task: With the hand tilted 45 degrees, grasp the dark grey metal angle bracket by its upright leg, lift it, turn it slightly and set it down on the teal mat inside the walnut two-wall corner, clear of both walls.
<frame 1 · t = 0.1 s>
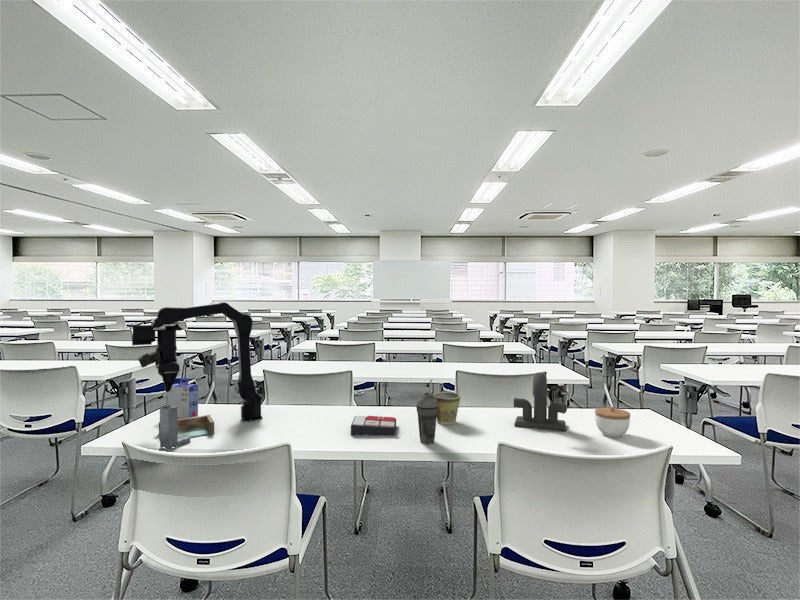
hand: (167, 388, 150), 15 cm above the table, tool pointing down, fingers open, 9 cm apart
angle bracket: (169, 447, 135), on the table
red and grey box: (374, 431, 152), on the table
beverage cup: (427, 442, 140), on the table
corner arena: (186, 433, 148), on the table
ceramic cup: (447, 421, 162), on the table
ink cartridge box: (183, 417, 168), on the table
lidded jar: (612, 435, 147), on the table
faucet: (539, 429, 153), on the table
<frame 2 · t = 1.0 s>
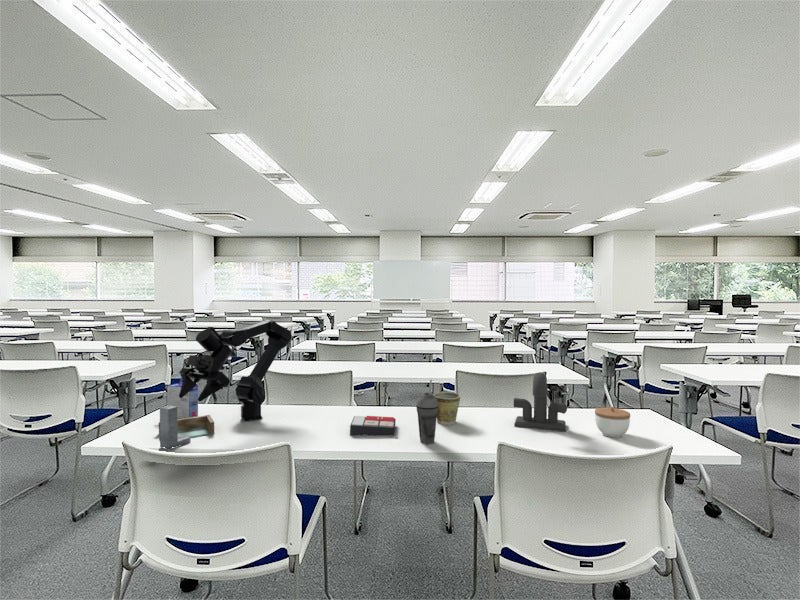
hand: (189, 399, 142), 13 cm above the table, tool tilted 45°, fingers open, 9 cm apart
nothing on the table moved.
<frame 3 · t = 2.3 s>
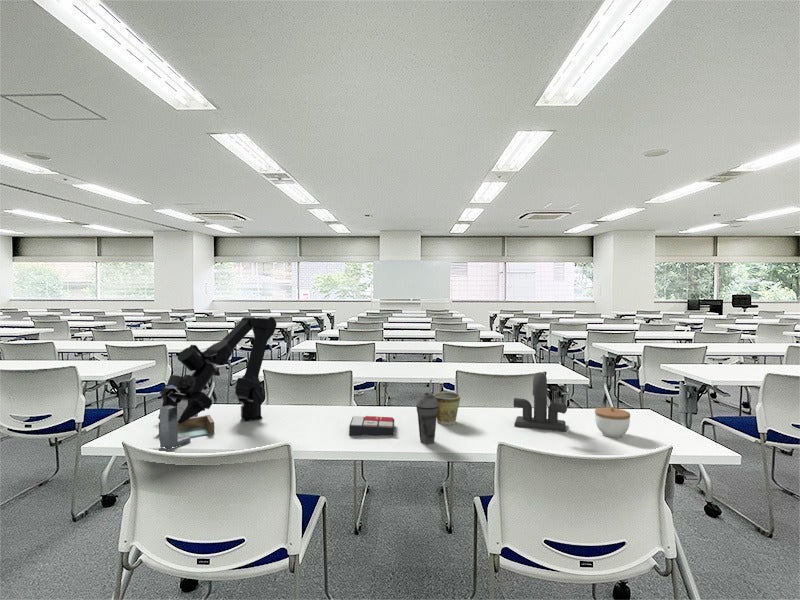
hand: (169, 421, 135), 8 cm above the table, tool tilted 45°, fingers open, 9 cm apart
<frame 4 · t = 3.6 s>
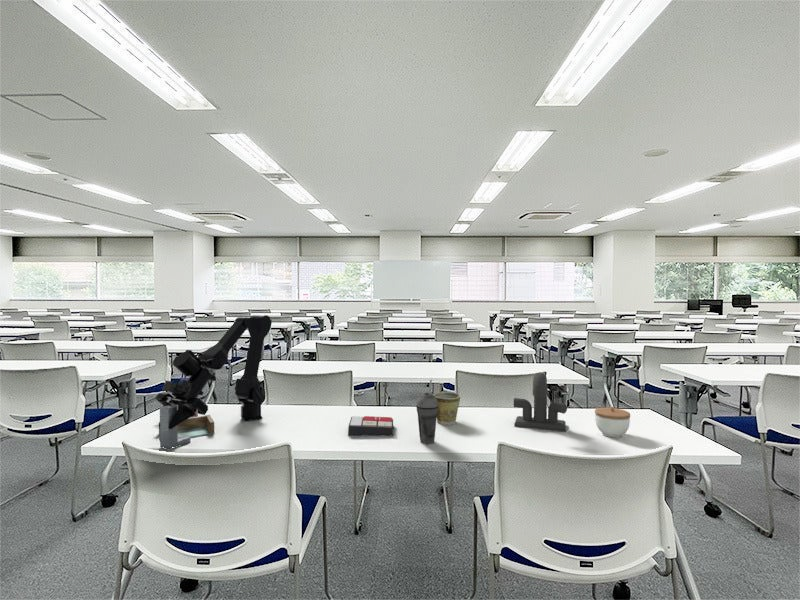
hand: (164, 427, 134), 7 cm above the table, tool tilted 45°, fingers closed on angle bracket, 4 cm apart
angle bracket: (169, 447, 135), on the table, touching gripper
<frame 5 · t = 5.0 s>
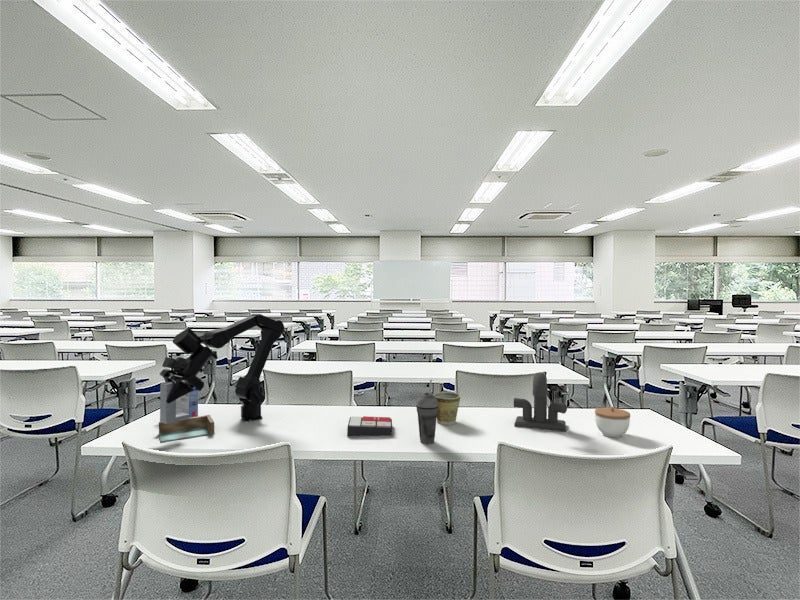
hand: (163, 401, 139), 13 cm above the table, tool tilted 45°, fingers closed on angle bracket, 4 cm apart
angle bracket: (167, 422, 140), point 6 cm above the table, touching gripper
when the fingers open (8 cm above the table, at t = 6.5 s): angle bracket stays where it is, resting on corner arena.
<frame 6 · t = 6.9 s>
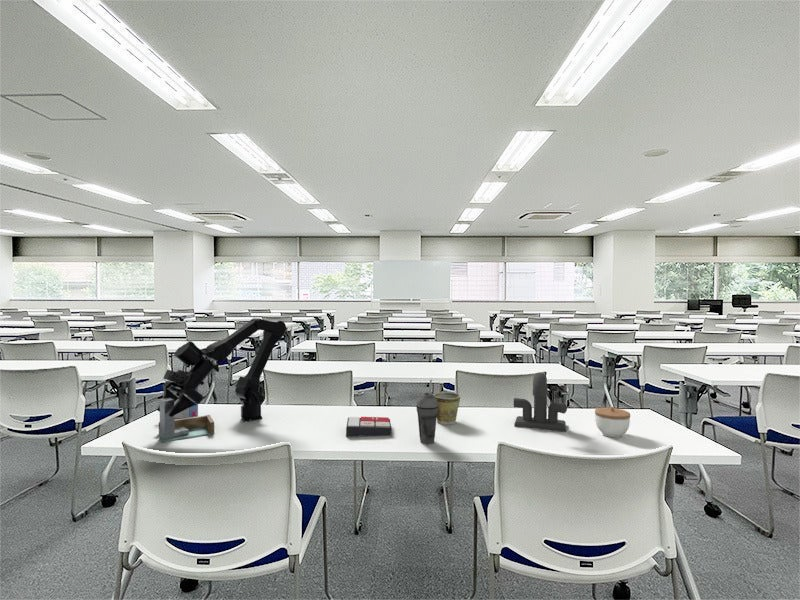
hand: (163, 413, 142), 9 cm above the table, tool tilted 45°, fingers open, 9 cm apart
angle bracket: (167, 437, 143), resting on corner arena
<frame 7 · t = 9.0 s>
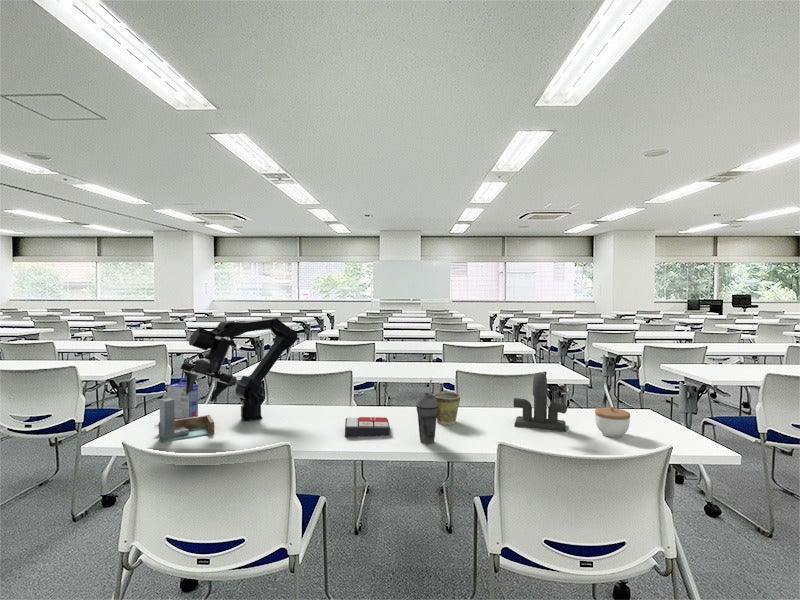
hand: (199, 397, 151), 11 cm above the table, tool tilted 25°, fingers open, 9 cm apart
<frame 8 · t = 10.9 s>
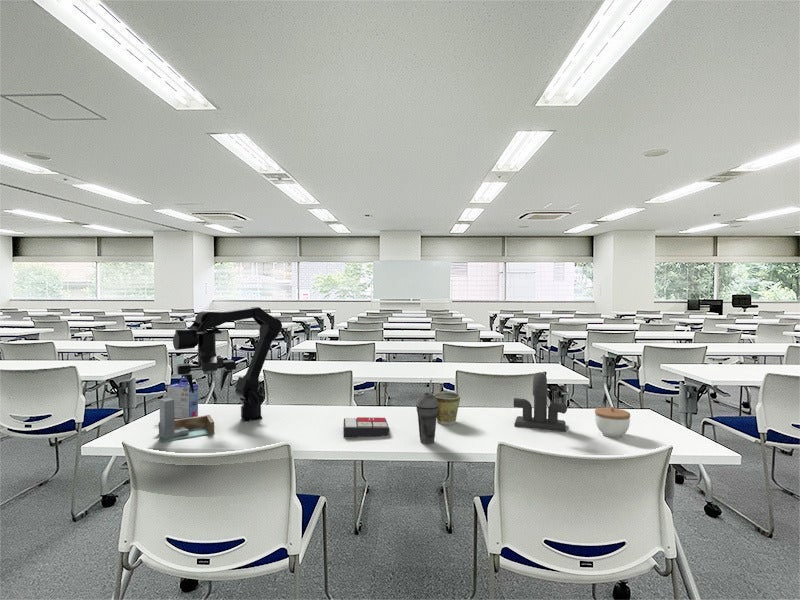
hand: (207, 391, 154), 13 cm above the table, tool pointing down, fingers open, 9 cm apart
at the end: angle bracket inside the target area (0.9 cm from its centre), resting on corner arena; angle bracket tilted 0°; the gripper is holding nothing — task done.
